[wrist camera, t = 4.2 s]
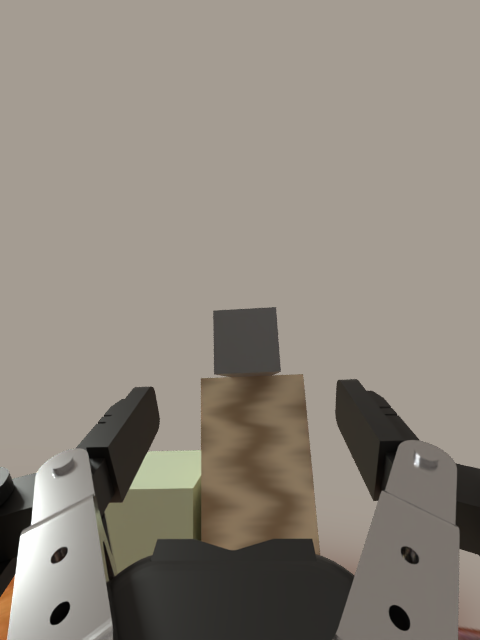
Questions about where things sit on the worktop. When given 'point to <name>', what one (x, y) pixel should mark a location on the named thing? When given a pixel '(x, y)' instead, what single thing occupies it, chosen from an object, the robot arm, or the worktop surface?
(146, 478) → the step block
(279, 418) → the brown block
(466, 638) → the worktop surface
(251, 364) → the bar
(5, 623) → the worktop surface
